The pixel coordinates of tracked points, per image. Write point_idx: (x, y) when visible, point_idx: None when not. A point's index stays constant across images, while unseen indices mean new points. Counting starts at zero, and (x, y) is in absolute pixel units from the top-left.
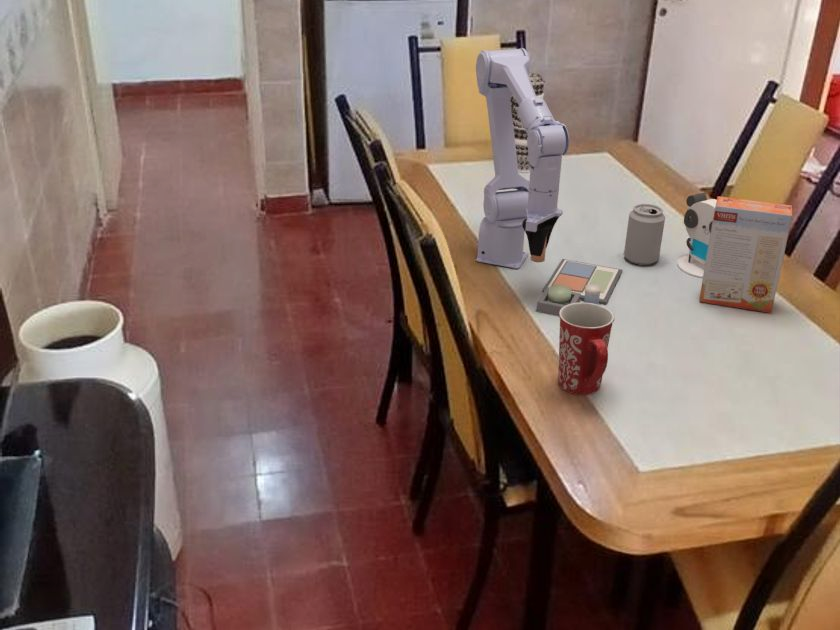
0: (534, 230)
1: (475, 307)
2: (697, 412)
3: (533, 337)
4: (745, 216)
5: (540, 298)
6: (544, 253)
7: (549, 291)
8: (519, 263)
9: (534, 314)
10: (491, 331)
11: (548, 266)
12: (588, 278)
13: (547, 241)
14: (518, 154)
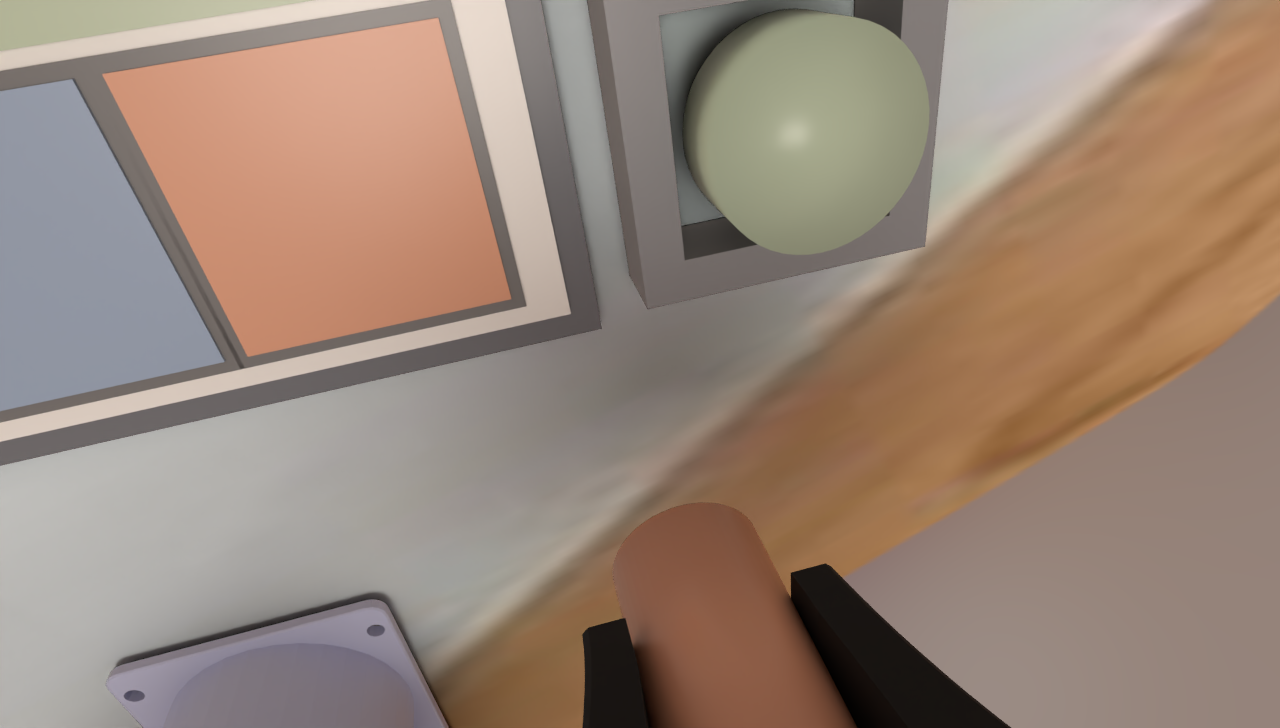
0: None
1: (950, 497)
2: None
3: (1234, 61)
4: None
5: (863, 252)
6: (727, 574)
7: (879, 218)
8: (317, 629)
9: (930, 207)
10: (1183, 309)
11: (140, 493)
12: (82, 80)
13: (642, 718)
14: None
